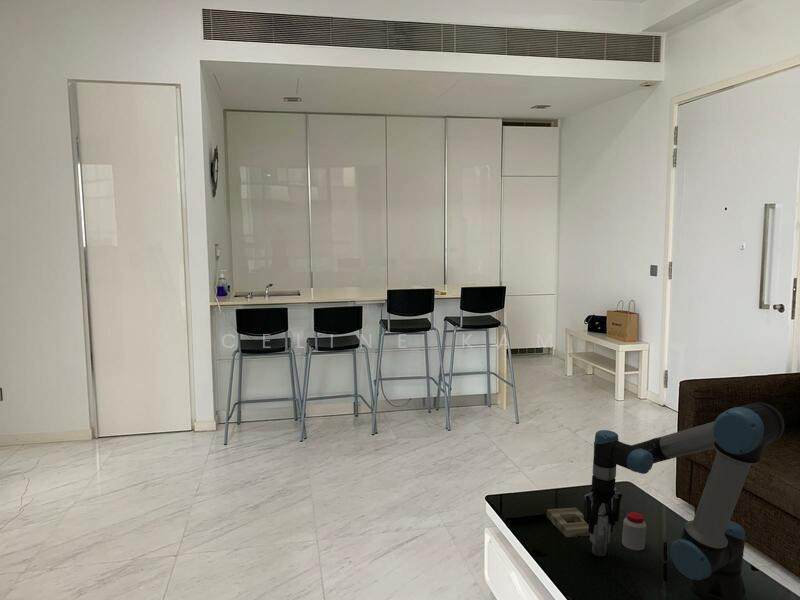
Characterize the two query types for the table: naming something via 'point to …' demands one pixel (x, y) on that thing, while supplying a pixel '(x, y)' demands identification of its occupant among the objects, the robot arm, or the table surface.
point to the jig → (569, 514)
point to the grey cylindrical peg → (601, 534)
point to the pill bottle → (634, 531)
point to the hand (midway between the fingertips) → (599, 541)
